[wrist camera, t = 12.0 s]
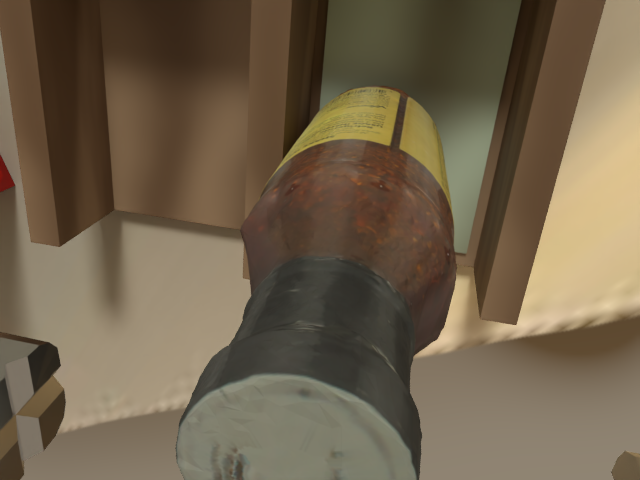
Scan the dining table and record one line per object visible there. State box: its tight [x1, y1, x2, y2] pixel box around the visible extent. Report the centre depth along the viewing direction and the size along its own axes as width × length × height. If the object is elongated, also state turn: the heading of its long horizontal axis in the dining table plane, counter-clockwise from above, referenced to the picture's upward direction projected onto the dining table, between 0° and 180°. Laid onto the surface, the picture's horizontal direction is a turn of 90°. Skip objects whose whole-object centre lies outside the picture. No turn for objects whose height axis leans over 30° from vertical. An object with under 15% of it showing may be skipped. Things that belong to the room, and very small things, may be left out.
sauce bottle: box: [176, 85, 457, 480], centre depth 18 cm, size 6×6×20 cm
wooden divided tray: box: [0, 0, 606, 325], centre depth 25 cm, size 22×15×6 cm, turn 85°
